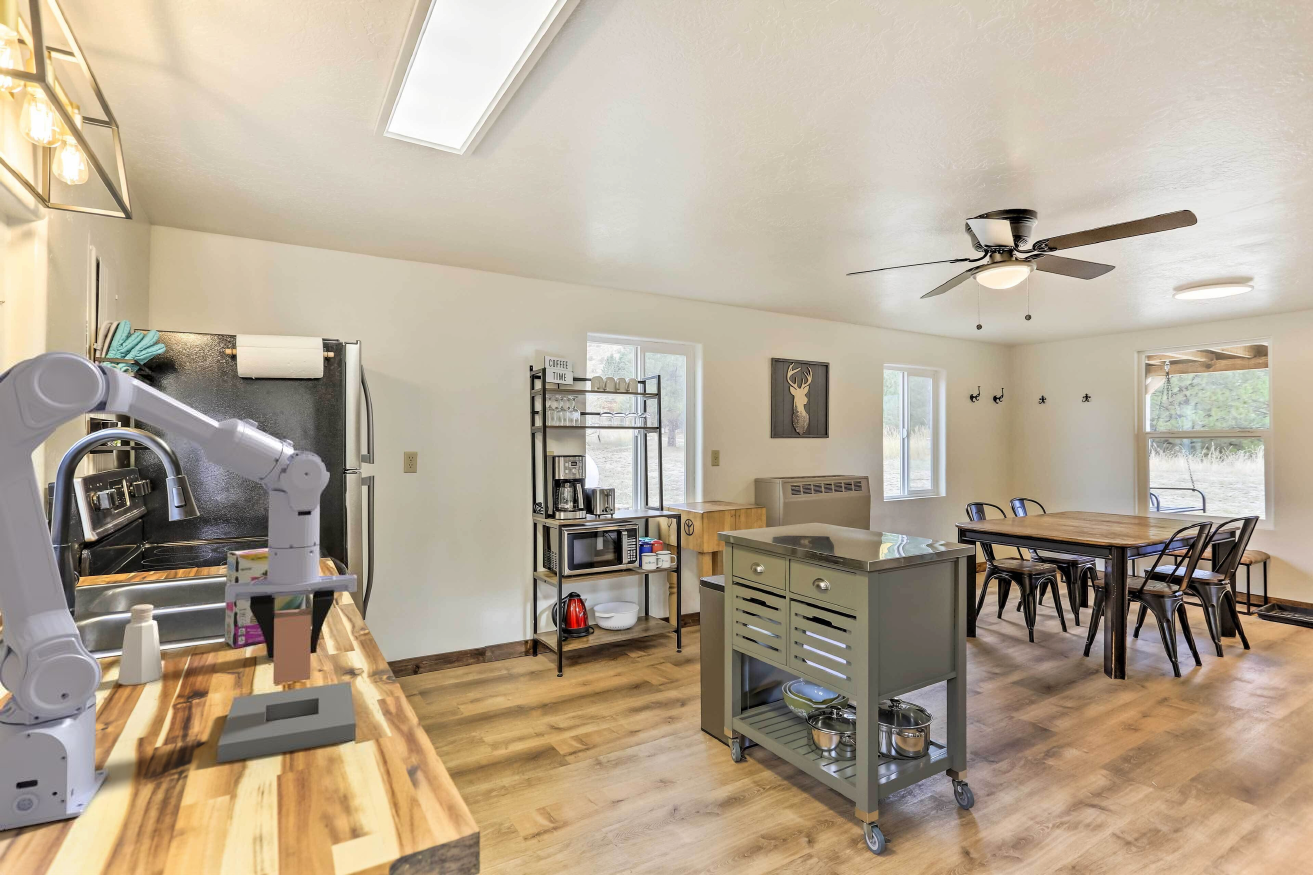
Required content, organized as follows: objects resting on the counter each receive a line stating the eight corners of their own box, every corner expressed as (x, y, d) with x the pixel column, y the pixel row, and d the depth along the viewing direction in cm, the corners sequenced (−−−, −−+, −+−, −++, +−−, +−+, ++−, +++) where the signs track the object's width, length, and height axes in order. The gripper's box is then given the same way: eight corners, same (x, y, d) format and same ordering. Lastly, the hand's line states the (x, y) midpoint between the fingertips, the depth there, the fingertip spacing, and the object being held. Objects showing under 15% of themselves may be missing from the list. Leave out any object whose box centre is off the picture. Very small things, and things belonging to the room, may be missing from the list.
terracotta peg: (310, 679, 85) (310, 614, 85) (273, 684, 83) (274, 618, 83) (310, 669, 88) (311, 608, 89) (275, 674, 87) (276, 611, 87)
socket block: (355, 739, 82) (355, 722, 82) (217, 763, 75) (217, 744, 75) (350, 695, 96) (350, 681, 96) (233, 712, 90) (234, 697, 90)
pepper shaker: (171, 674, 105) (173, 602, 105) (141, 686, 99) (143, 610, 100) (139, 672, 105) (140, 601, 105) (107, 684, 100) (109, 609, 100)
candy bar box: (234, 649, 117) (235, 554, 118) (223, 644, 121) (224, 551, 121) (301, 636, 126) (302, 547, 126) (289, 631, 129) (291, 544, 129)
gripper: (355, 538, 93) (354, 638, 93) (230, 544, 86) (229, 652, 86) (357, 545, 86) (356, 652, 86) (223, 552, 80) (221, 668, 80)
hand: (292, 653), depth 86 cm, fingers closed on terracotta peg, 4 cm apart
